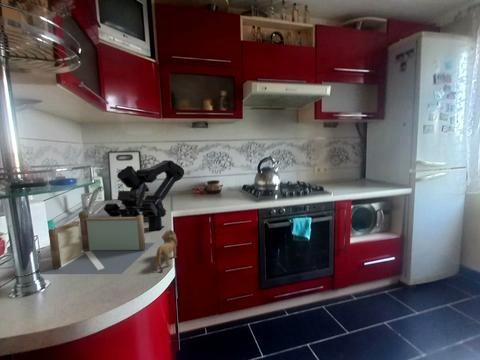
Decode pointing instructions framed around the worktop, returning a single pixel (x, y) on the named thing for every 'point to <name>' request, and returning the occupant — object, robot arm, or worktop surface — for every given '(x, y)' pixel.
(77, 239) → the fixed fence section
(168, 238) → the lion figurine
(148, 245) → the card
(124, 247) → the swinging fence panel
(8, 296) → the worktop surface
